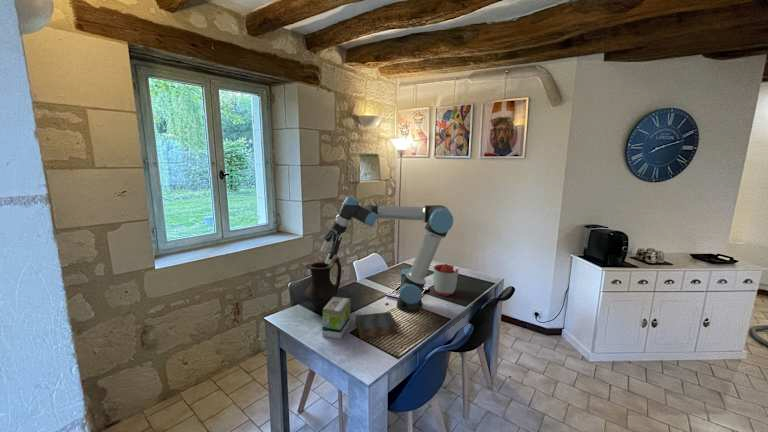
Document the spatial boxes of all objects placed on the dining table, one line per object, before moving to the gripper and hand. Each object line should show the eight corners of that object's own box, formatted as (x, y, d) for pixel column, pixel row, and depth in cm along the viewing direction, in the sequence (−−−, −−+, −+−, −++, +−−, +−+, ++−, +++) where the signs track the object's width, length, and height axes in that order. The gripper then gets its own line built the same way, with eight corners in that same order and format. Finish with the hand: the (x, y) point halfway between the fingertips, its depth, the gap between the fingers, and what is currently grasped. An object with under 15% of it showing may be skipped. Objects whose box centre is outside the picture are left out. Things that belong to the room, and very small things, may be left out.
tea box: (341, 339, 154) (341, 311, 151) (321, 336, 156) (321, 308, 153) (350, 323, 168) (350, 297, 166) (332, 321, 170) (332, 295, 168)
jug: (307, 318, 172) (306, 266, 166) (302, 304, 189) (301, 255, 183) (345, 312, 180) (345, 261, 175) (336, 298, 197) (336, 252, 191)
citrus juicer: (463, 296, 206) (465, 266, 202) (439, 299, 200) (441, 269, 197) (450, 286, 221) (452, 258, 217) (428, 289, 215) (429, 261, 211)
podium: (389, 319, 174) (390, 311, 173) (397, 334, 160) (398, 325, 159) (355, 322, 170) (355, 314, 169) (360, 338, 155) (360, 329, 154)
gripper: (330, 212, 179) (314, 244, 183) (340, 231, 157) (322, 267, 162) (341, 216, 182) (326, 248, 187) (353, 235, 161) (335, 270, 165)
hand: (324, 257), depth 174 cm, fingers open, 13 cm apart
